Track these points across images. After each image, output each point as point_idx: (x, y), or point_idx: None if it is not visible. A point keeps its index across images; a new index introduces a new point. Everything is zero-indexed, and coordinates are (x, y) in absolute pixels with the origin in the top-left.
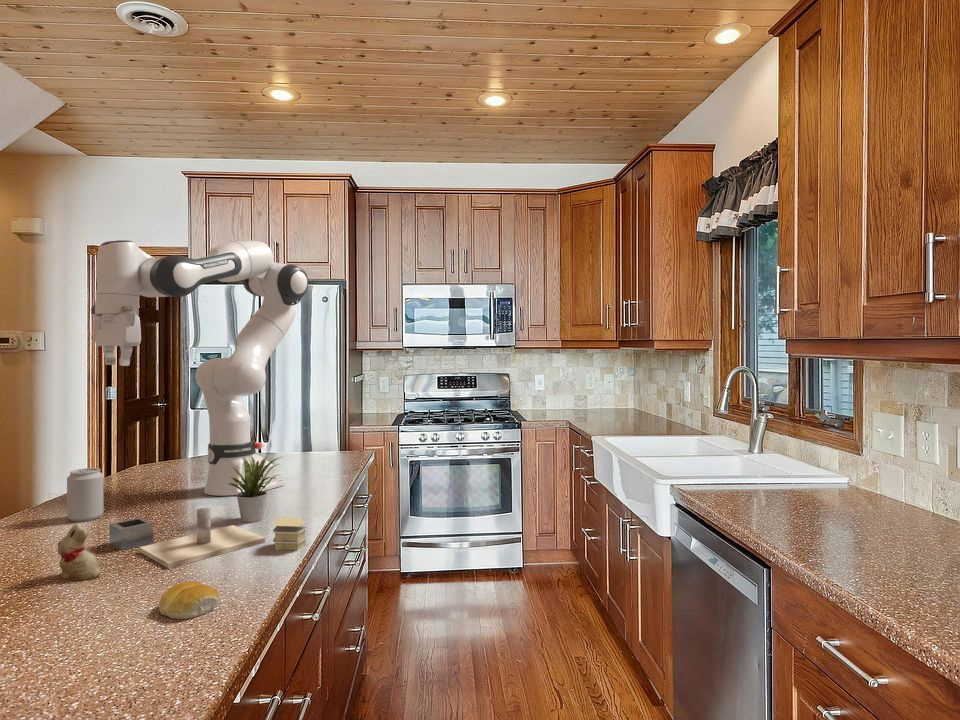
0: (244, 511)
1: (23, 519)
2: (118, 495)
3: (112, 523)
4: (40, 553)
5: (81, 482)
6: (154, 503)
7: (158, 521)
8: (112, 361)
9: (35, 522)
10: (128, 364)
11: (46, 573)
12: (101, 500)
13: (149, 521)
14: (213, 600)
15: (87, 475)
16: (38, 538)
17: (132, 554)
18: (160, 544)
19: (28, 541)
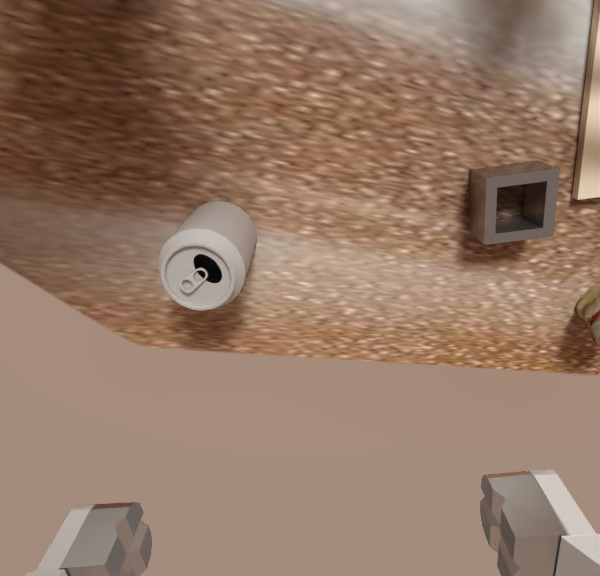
0: None
1: (154, 327)
2: (5, 125)
3: (487, 239)
4: (428, 327)
5: (244, 281)
6: (165, 63)
7: (368, 105)
8: (126, 543)
9: (195, 313)
10: (553, 479)
11: (548, 331)
12: (236, 217)
13: (541, 172)
14: None
15: (235, 274)
16: (326, 320)
17: (572, 210)
18: (597, 161)
19: (334, 334)
